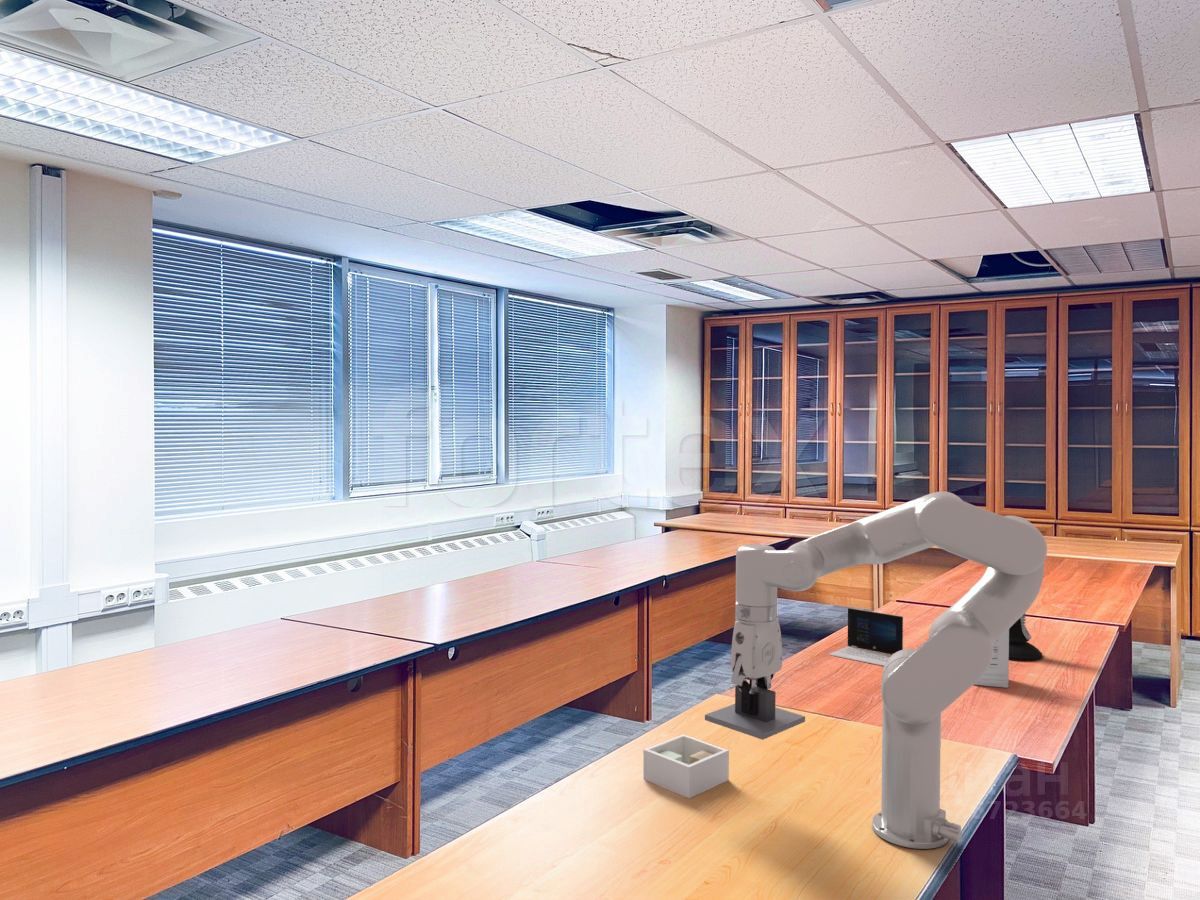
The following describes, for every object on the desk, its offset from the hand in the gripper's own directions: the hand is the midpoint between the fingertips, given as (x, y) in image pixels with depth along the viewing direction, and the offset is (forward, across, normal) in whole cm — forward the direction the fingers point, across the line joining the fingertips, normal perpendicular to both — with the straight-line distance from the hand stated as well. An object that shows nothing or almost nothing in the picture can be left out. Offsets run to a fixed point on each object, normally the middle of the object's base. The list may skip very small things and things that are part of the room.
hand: (755, 710), depth 156 cm
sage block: (+17, -2, +19) cm, 26 cm away
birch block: (+17, +3, +14) cm, 23 cm away
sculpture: (+18, +141, +12) cm, 143 cm away
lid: (+2, 0, 0) cm, 2 cm away
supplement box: (+18, +108, +2) cm, 110 cm away
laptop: (+19, +106, +38) cm, 114 cm away
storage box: (+18, 0, +17) cm, 25 cm away
